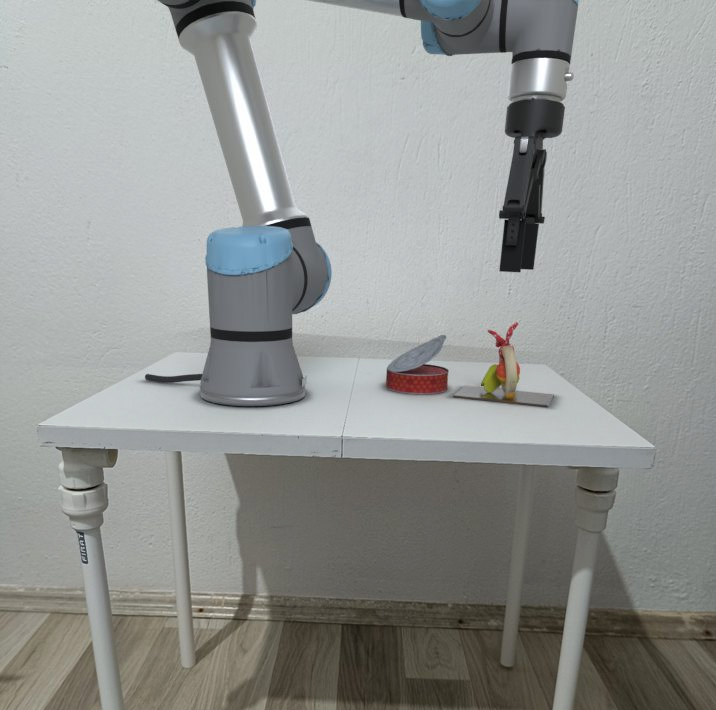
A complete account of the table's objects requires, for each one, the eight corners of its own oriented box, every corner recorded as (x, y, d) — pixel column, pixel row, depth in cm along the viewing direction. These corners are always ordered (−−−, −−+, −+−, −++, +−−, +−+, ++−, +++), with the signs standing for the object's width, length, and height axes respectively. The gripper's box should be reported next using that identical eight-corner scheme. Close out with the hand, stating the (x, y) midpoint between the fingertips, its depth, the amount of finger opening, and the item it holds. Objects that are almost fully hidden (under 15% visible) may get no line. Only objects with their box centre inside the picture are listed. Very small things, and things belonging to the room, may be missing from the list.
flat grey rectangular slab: (453, 397, 100) (453, 395, 100) (464, 387, 107) (465, 385, 107) (547, 407, 96) (548, 405, 95) (553, 396, 103) (554, 394, 102)
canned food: (433, 423, 103) (430, 372, 96) (376, 407, 108) (370, 357, 100) (462, 379, 110) (461, 329, 102) (407, 366, 114) (403, 317, 107)
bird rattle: (528, 411, 100) (514, 377, 107) (546, 348, 92) (529, 315, 99) (487, 412, 100) (476, 377, 106) (502, 348, 92) (488, 315, 99)
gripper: (556, 80, 75) (532, 274, 83) (572, 118, 97) (553, 269, 105) (490, 83, 78) (473, 271, 85) (521, 119, 100) (505, 267, 107)
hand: (517, 270), depth 95 cm, fingers open, 13 cm apart
